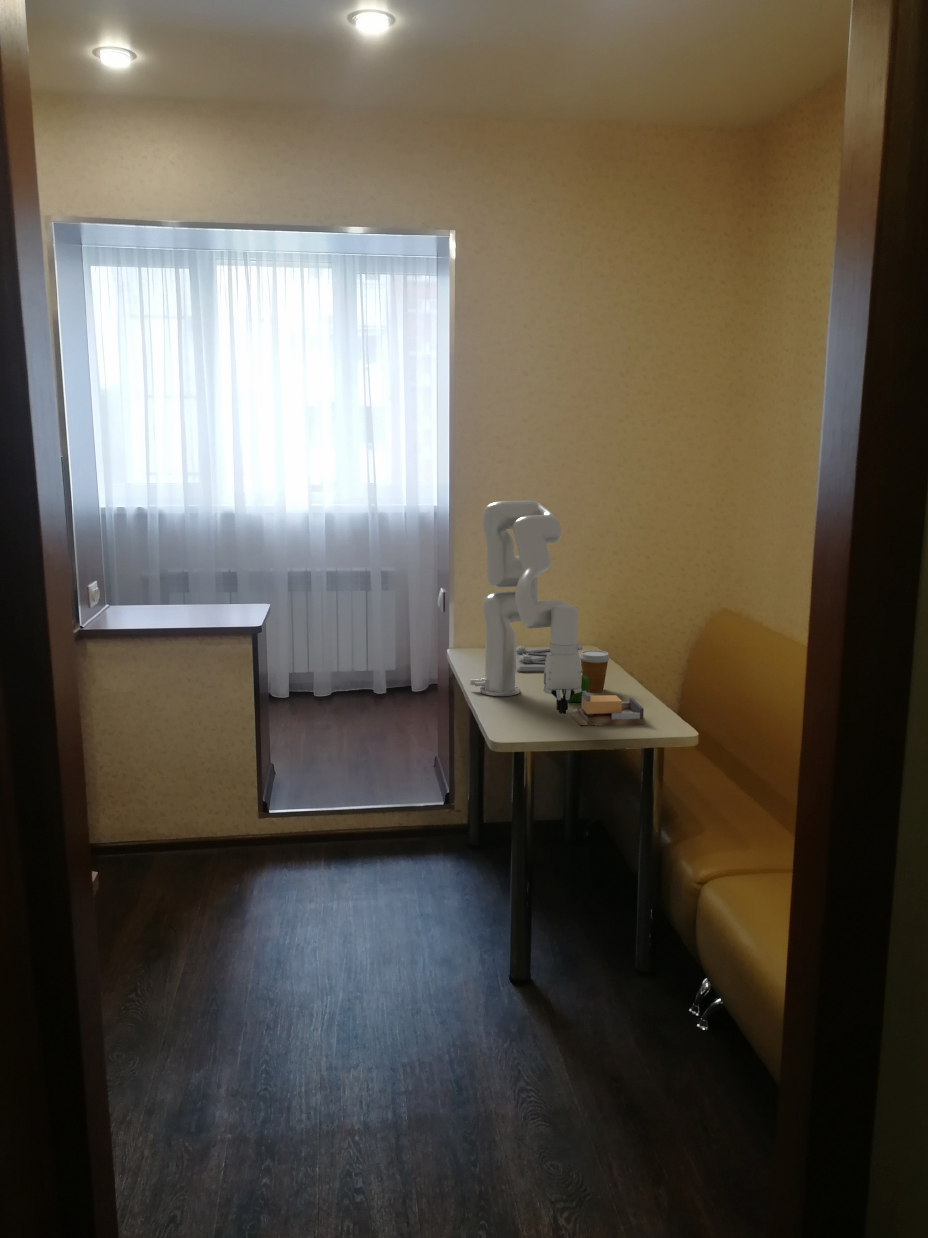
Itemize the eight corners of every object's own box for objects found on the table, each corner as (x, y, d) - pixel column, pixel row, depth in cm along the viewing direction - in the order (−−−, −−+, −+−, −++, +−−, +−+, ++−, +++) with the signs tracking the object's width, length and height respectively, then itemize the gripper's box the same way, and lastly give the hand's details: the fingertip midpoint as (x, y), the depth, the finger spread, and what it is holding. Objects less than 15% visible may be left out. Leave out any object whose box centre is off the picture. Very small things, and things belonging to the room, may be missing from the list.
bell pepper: (554, 699, 285) (555, 668, 284) (573, 695, 290) (574, 664, 288) (573, 706, 279) (574, 673, 277) (593, 701, 284) (594, 669, 282)
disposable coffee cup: (607, 694, 292) (609, 657, 289) (577, 692, 294) (578, 655, 291) (609, 687, 301) (610, 650, 299) (579, 685, 303) (580, 649, 300)
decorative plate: (508, 654, 348) (509, 635, 346) (566, 654, 349) (566, 635, 348) (517, 674, 318) (518, 654, 317) (580, 674, 319) (580, 653, 318)
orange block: (586, 717, 262) (587, 696, 260) (581, 711, 268) (582, 690, 267) (621, 717, 263) (622, 695, 261) (615, 710, 269) (616, 689, 268)
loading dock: (580, 726, 259) (580, 710, 258) (570, 713, 270) (571, 698, 270) (643, 724, 261) (644, 709, 260) (631, 712, 272) (632, 697, 271)
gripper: (586, 645, 265) (584, 708, 268) (534, 646, 263) (533, 709, 267) (593, 651, 257) (591, 715, 261) (539, 652, 256) (538, 717, 259)
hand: (562, 712), depth 264 cm, fingers closed
